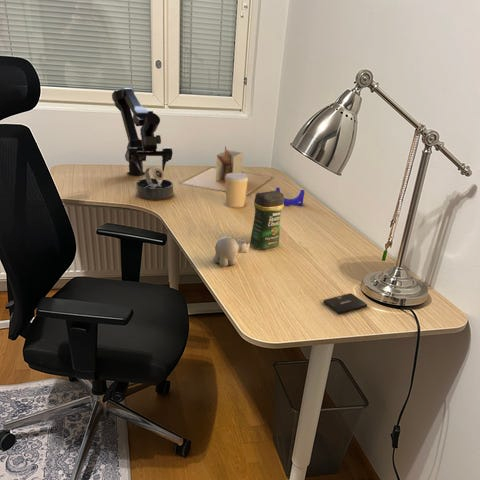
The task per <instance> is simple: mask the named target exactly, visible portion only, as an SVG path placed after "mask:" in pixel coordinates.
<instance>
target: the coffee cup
mask: <svg viewBox="0 0 480 480" xmlns="http://www.w3.org/2000/svg"><path fill="white" fill-rule="evenodd" d="M225 178H226V191H225V205H226V206H227V207H230V208H243V207H245V203H246V197H247V195H246V190H247V182H248V176H247V175H245V174H242V173H228V174H227V175H226V176H225Z"/></svg>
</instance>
